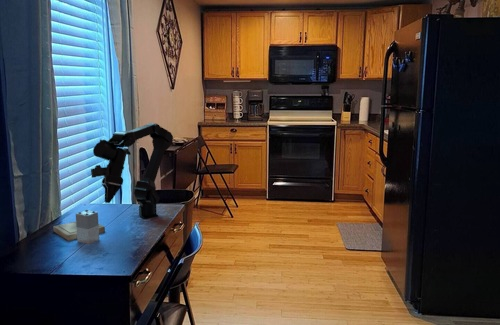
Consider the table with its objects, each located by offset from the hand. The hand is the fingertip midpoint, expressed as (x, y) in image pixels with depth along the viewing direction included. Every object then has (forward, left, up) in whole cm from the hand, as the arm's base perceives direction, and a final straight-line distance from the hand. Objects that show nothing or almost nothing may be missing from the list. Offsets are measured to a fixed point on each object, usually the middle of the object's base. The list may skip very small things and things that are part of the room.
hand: (107, 202), depth 158 cm
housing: (+9, +6, -11) cm, 16 cm away
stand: (+9, -6, -11) cm, 16 cm away
